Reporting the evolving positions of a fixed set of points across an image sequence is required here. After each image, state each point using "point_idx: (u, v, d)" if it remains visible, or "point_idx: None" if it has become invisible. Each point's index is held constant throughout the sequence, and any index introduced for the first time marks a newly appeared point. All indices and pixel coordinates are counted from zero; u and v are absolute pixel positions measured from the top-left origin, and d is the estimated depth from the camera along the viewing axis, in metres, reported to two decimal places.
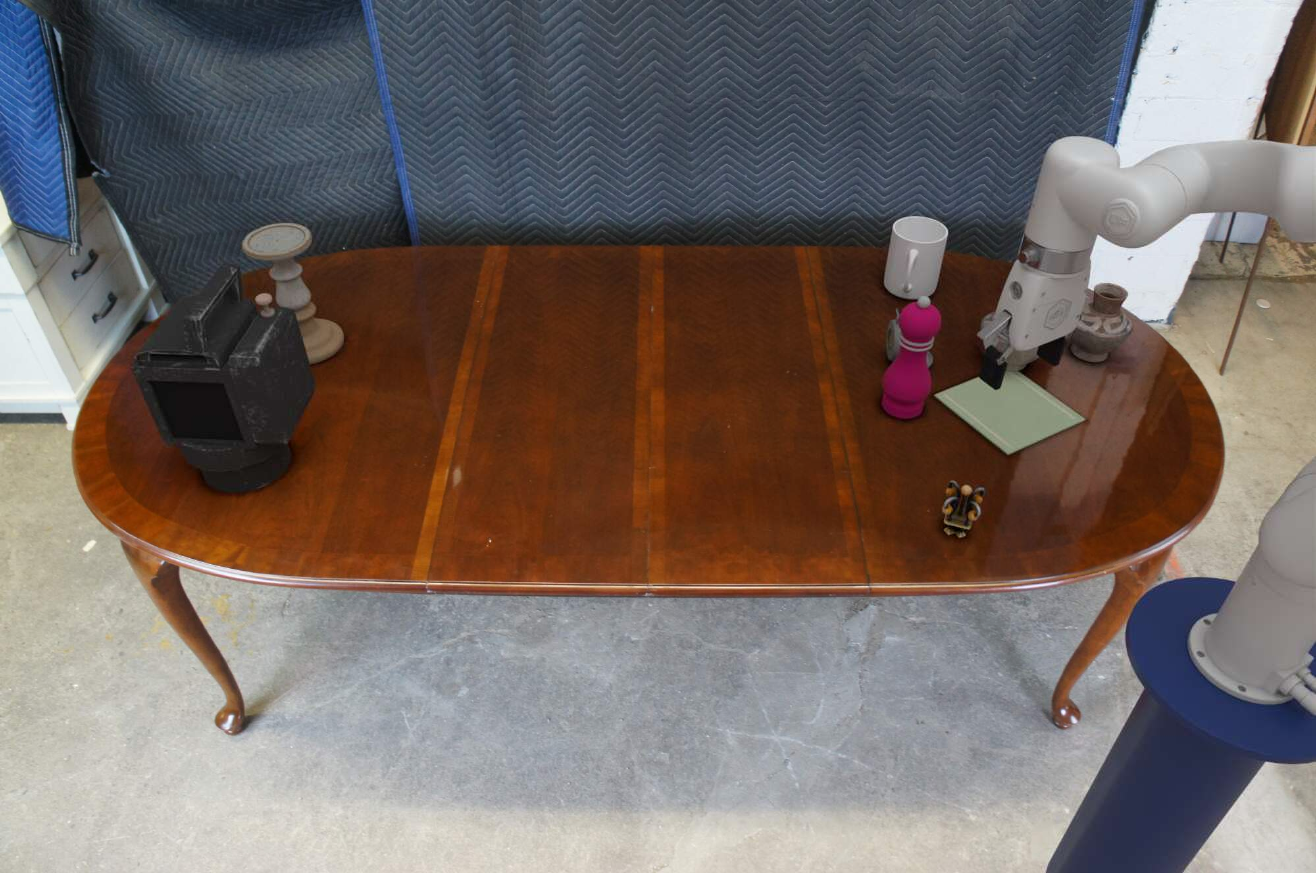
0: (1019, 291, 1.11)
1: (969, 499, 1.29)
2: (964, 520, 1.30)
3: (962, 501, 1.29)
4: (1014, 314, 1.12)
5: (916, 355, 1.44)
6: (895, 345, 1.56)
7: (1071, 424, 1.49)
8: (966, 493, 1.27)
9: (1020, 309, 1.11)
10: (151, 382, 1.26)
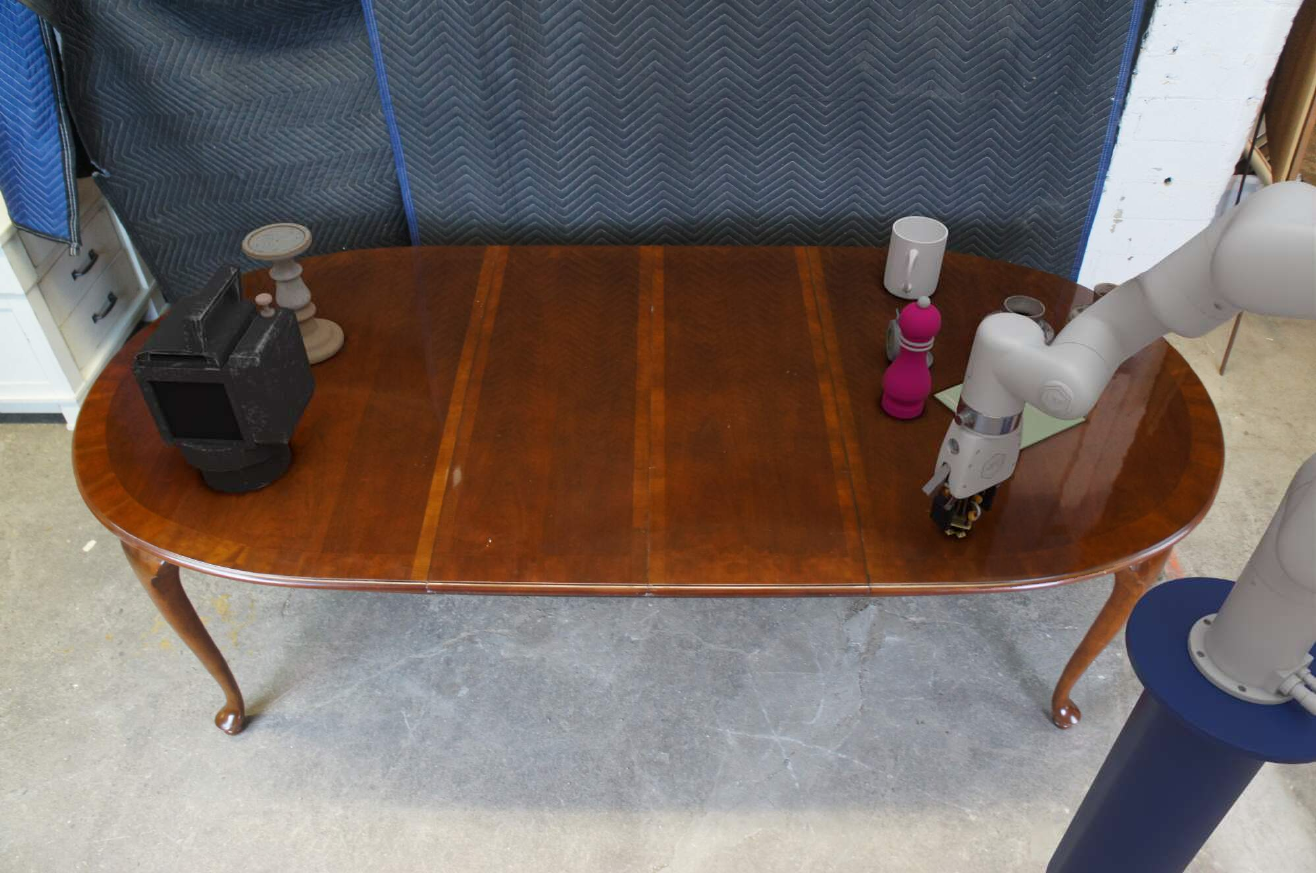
0: (956, 447, 1.20)
1: (969, 499, 1.29)
2: (964, 520, 1.30)
3: (962, 501, 1.29)
4: (952, 467, 1.21)
5: (916, 355, 1.44)
6: (895, 345, 1.56)
7: (1071, 424, 1.49)
8: None
9: (958, 463, 1.20)
10: (151, 382, 1.26)
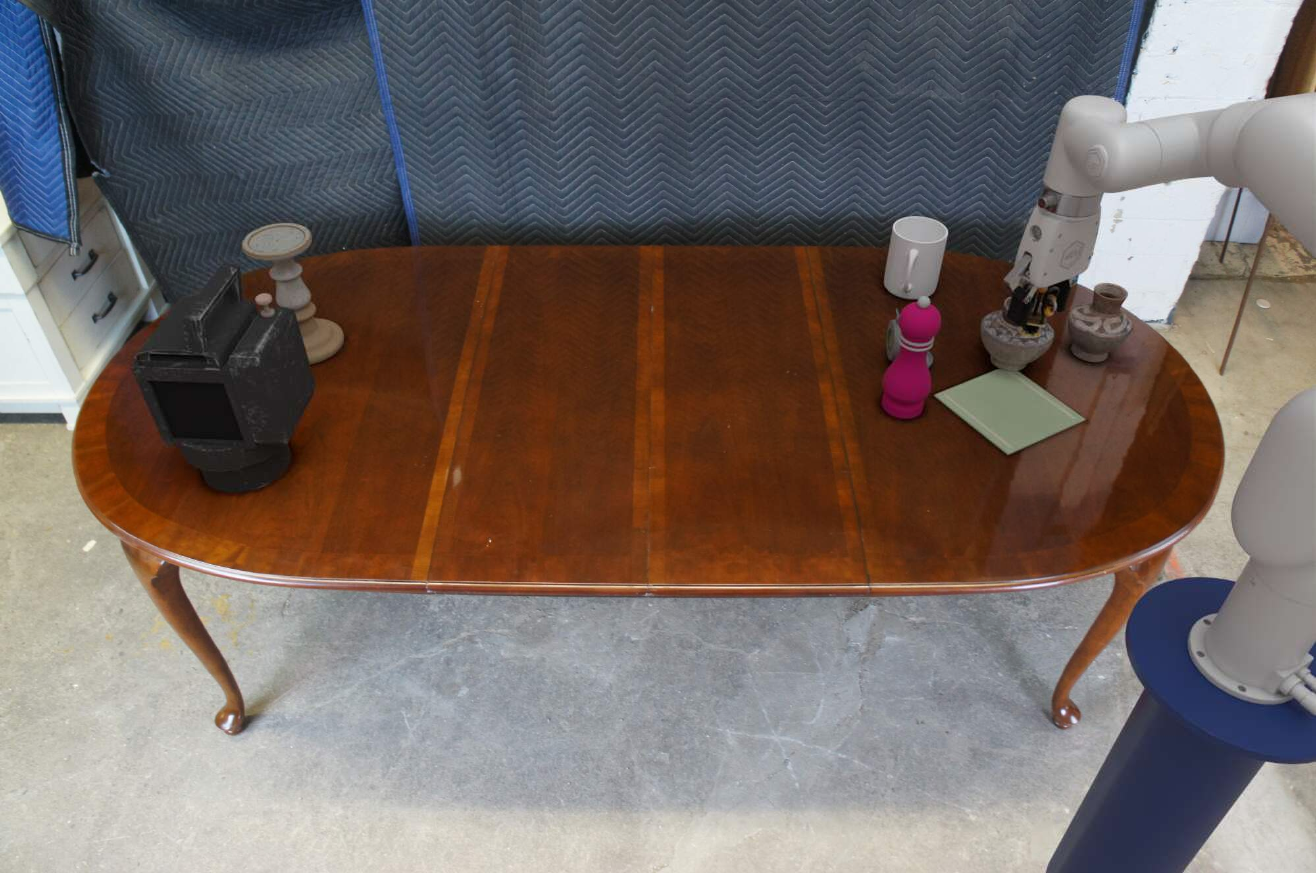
0: (1038, 234, 1.26)
1: (1044, 298, 1.36)
2: (1039, 319, 1.37)
3: (1038, 299, 1.36)
4: (1034, 254, 1.27)
5: (916, 355, 1.44)
6: (895, 345, 1.56)
7: (1071, 424, 1.49)
8: (1042, 289, 1.34)
9: (1039, 249, 1.26)
10: (151, 382, 1.26)
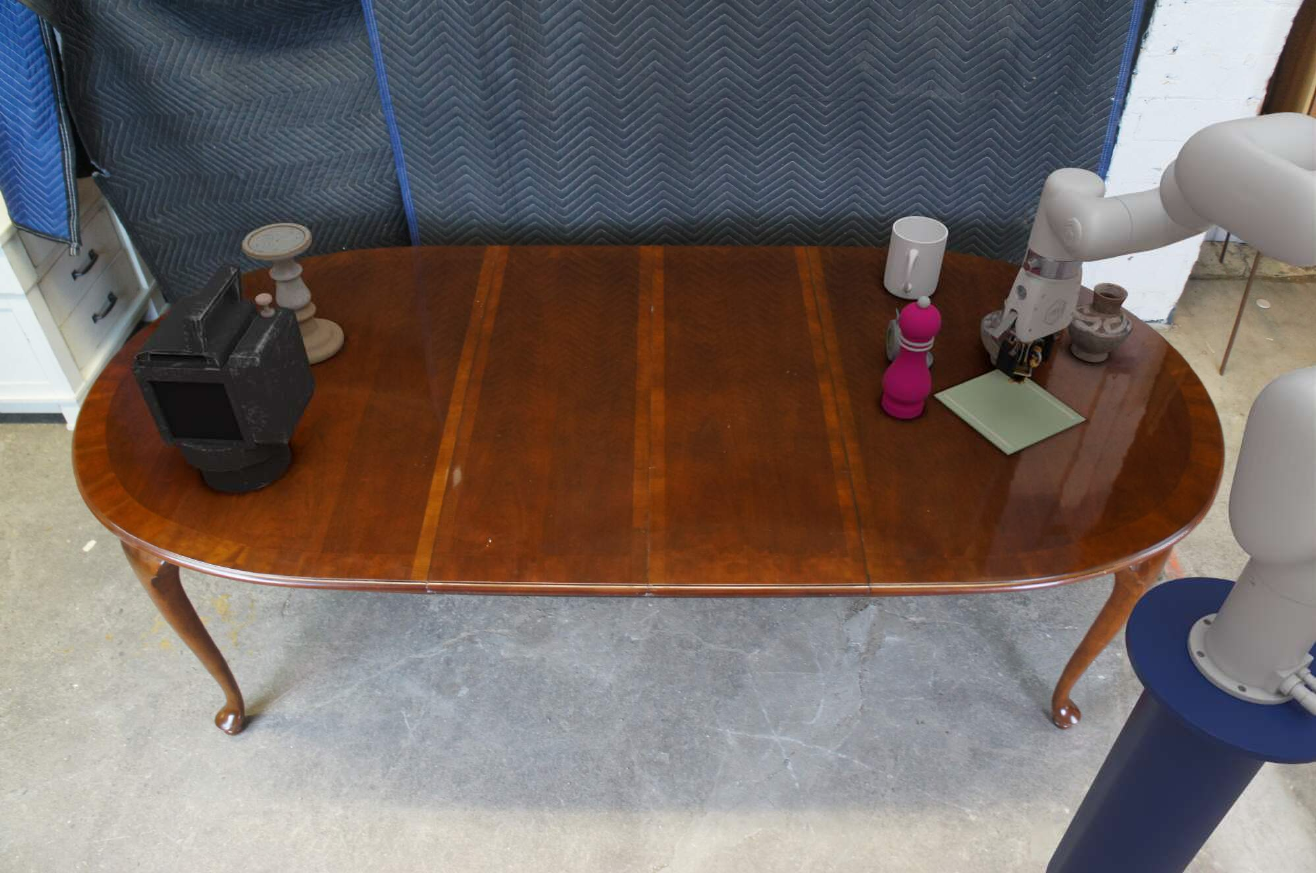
0: (1024, 293, 1.36)
1: (1030, 349, 1.45)
2: (1025, 369, 1.46)
3: (1024, 351, 1.45)
4: (1019, 312, 1.37)
5: (916, 355, 1.44)
6: (895, 345, 1.56)
7: (1071, 424, 1.49)
8: (1028, 342, 1.43)
9: (1024, 308, 1.36)
10: (151, 382, 1.26)
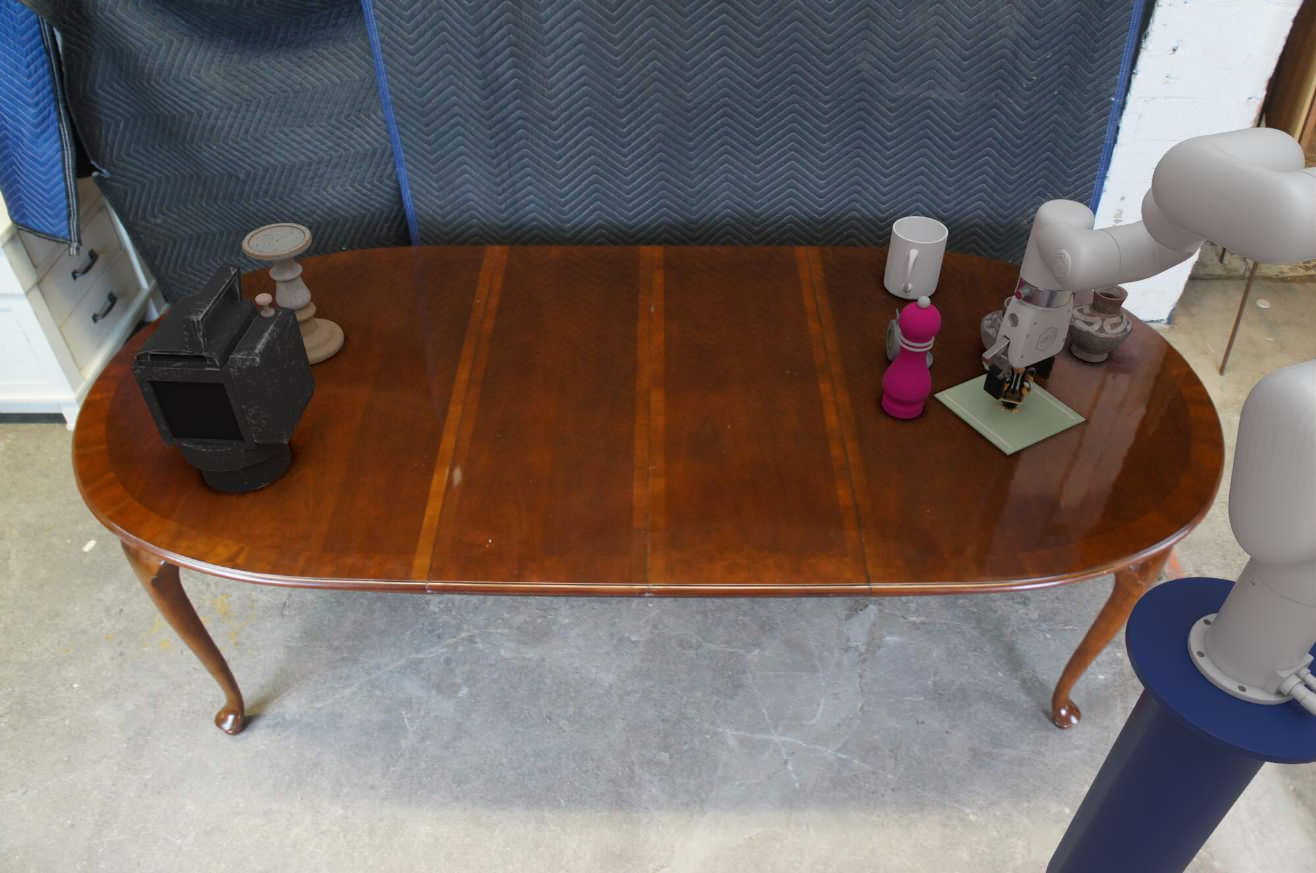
0: (1016, 321, 1.39)
1: (1022, 378, 1.49)
2: (1017, 397, 1.49)
3: (1016, 379, 1.48)
4: (1012, 339, 1.40)
5: (916, 355, 1.44)
6: (895, 345, 1.56)
7: (1071, 424, 1.49)
8: (1020, 371, 1.47)
9: (1017, 335, 1.39)
10: (151, 382, 1.26)
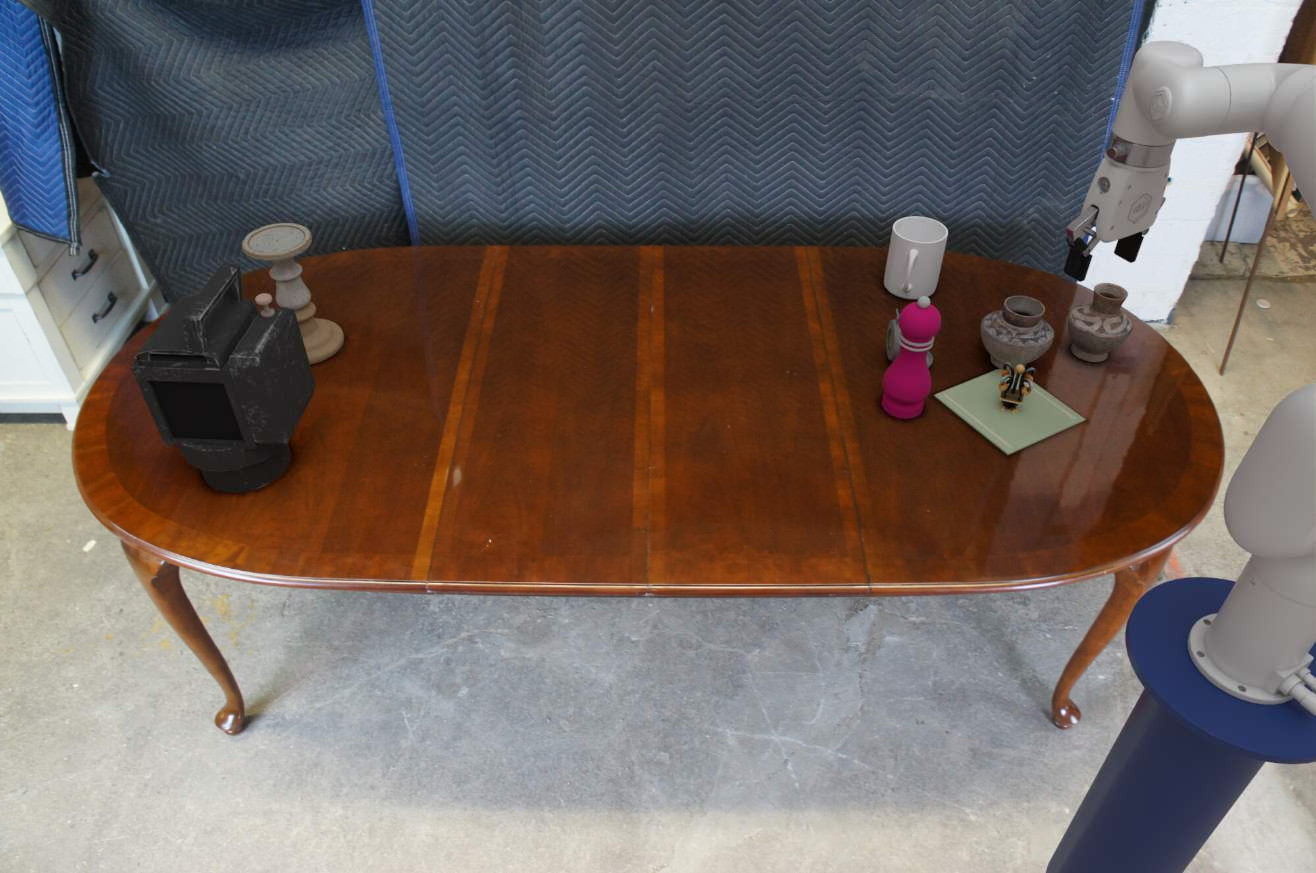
0: (1106, 185, 1.23)
1: (1022, 378, 1.49)
2: (1017, 397, 1.49)
3: (1016, 379, 1.48)
4: (1101, 207, 1.24)
5: (916, 355, 1.44)
6: (895, 345, 1.56)
7: (1071, 424, 1.49)
8: (1020, 371, 1.47)
9: (1107, 202, 1.23)
10: (151, 382, 1.26)
